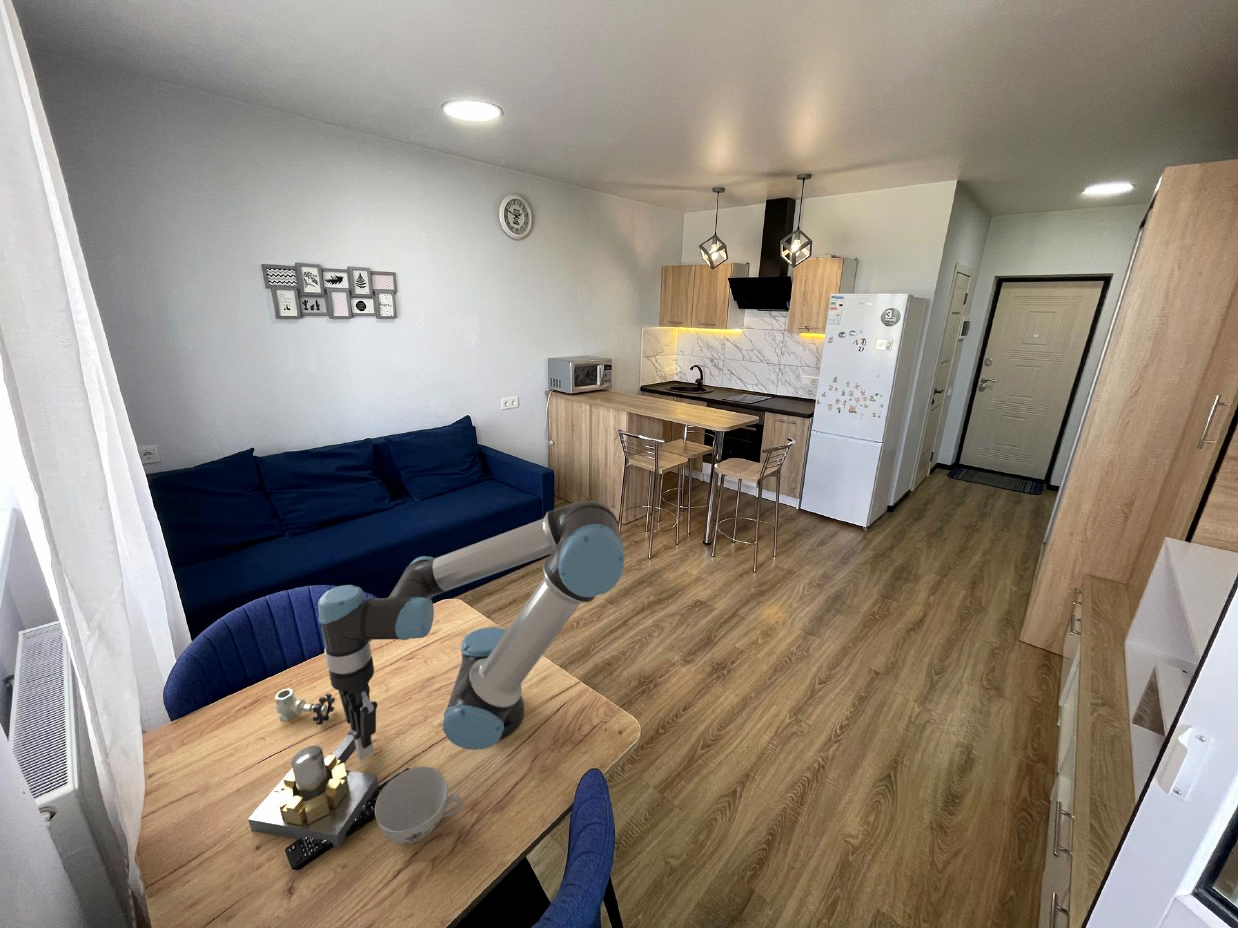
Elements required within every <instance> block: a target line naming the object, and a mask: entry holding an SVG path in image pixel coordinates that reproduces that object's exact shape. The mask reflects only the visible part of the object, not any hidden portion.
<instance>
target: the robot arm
mask: <svg viewBox="0 0 1238 928" xmlns="http://www.w3.org/2000/svg"><path fill="white" fill-rule="evenodd" d="M625 554H626V553H625V548H624V545H623V542H622V537H621V532H620V526H619V522H618V518H617V516H616V514H615V513H614V512H613V511H612V509H610V508H609V507H608V506H607V505H606V504H603V503H601V502H598V501H594V500H582V501H577V502H573V503H569V504H566V505H563V506H560V507H557V508H554V509H552V510H549V511H547V512H546V514H545V516H543V518H542V519H538V520H536V521H533V522H530V523H528V524H526V525H522V526H519V527H517V528H514V529H512V530H508V531H506V532H504V533H500V534H498V535H495V536H493V537H490V538H487V539H484V540H481V541H479V542H477V543H474V544H470V545H468V546H465V547H463V548H460V549H456V550H455V551H454V550H453V551H452V552H448V553H446V554H444V555H440V556H438V557H432V556H427V555H426V556H425V555H423V556H419V557H417V558H414V560H412V561H411V563H410V564H409V565H408V566H407V567H406V568H405V570H404V571H403V574H402V575H401V577H400V578H399V580H398V582H397V583H396V585H395V587H394V588H393V590H392V591H391V593H390V594H389V596H388V597H385V598H384V597H381V598H376V597H375V598H374V597H373V598H372V597H371V598H368V597H367V598H366V597H365V594H364V591H363V589H362V588H361V587H359V586H355V585H353V584H346V585H340V586H339V585H338V586H335V587H333V588H331V589H329V590H327V591H326V592H324V593H323V594H322V596H320V598H319V599H318V602H317V608H318V623H319V624H320V628H321V634H322V637H323V642H324V653H325V659H326V665H327V668H328V673H329V679H330V684H331V687H332V688H333V689H334V690H336V691H338V693H339V697H340V701H341V704H342V708H343V711H344V716H345V718H346V719H345V720H346V723H347V724H348V725H349V724H350V730H351V729H352V730H353V731H355V732H354V733H353V734H354V736H353V737H354V740H355V745H356V749H355V751H356V756H357V758H358V759H359V761H360V762H361V761H364V760H365V759H366V758H367V757H369V756H371V755H372V754H373V753H375V752H374V745H373V738H372V737H373V736H372V735H374V734H375V733H377V709H378V702H377V701H376V700H374V701H373V700H371V699H370V691H371V689H370V685H369V682H370V681H371V679H372V678H373V676H374V673H375V667H374V660H373V656H372V649H371V642H372V641H373V640H381V641H382V640H401V641H407V640H411V639H413V640H414V639H423V638H425V637H427V636H428V634H429V633H430V632H431V630H432V627H433V622H434V618H435V617H434V616H435V610H434V609H435V608H434V604H433V601H432V598H433V597H435V596H437V595H441V594H443V593H445V592H448V591H450V590H454V589H455V588H459V587H462V586H463V585H467V584H470V583H472V582H474V581H477V580H481V579H483V578H486V577H490V576H492V575H495V574H498V573H500V572H503V571H506V570H509V569H511V568H515V567H518V566H520V565H522V564H523V565H524V564H526V563H529V562H531V561H534V560H537V559H540V558H542V557H545V556H548V555H549V556H548V558H547V559H546V561H545V562H544V563H543V566H542V567H543V569H542V570H543V575H544V577H543V579H542V580H541V582H540V583H539V584H538V586H537V587H536V588H535V590H534V591H533V593H532V594H531V595H530V597H529V598H528V599H527V601H526V603H524V606H522V608H521V610H520V611H519V612H518V614H517V616H516V617H515V618H514V619H513V621H512V622H511V623H510V625H509V626H508V628H506V629H505V628H502V627H495V626H490V627H482V628H479V629H476V630H474V631H471V632H470V633H468V634H467V635H466V636H465V637H464V638H463V639H462V641H461V648H460V652H461V657H462V658H461V664H460V668H459V670H458V673H457V677H456V679H455V683H454V686H453V689H452V691H451V695H450V697H449V701H448V704H447V706H446V710H445V711H444V713H443V714H444V715H443V721H442V730H443V733H444V734H445V737H446V738H447V739H448V740H449V742H450V743H452V744H454V745H455V746H457V747H459V748H461V749H465V750H471V751H477V750H485V749H488V748H490V747H492V746H494V745H495V744H497V742H498V741H500V740H502V739H505V738H507V737H509V736H510V735H512V734H513V733H514V732H515V731H516V730H518V728H519V727H520V725H521V724H522V721H523V720H524V715H525V702H524V698H523V696H522V683H523V682H524V680H525V679H526V677H528V675H529V674H530V672H531V671H532V670H533V668H534V667H535V666H536V664H537V663H538V661H539V660H540V659H541V657H542V656H543V654H544V653H545V652H546V651H547V649H548V648H549V647H550V646H551V644H552V642H553V641H554V640H555V639H556V637H558V634H559V633H560V632H561V630H563V628H564V626H565V625H566V624H567V623H568V621H569V620H570V618H571V617H572V616H573V614H574V613H575V612H576V610H577V609H578V607H579V606H580V605H581V604H587V603H588V604H589V603H591V602H593V601H594V599H596V597H597V596H598V595H602V596H603V595H604V594H606V593H608V592H609V591H611V590H612V589H614V587H616V585H617V583H618V582H619V581H620V579H621V577H622V574H623V573H624V567H625V557H626V556H625Z"/></svg>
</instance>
